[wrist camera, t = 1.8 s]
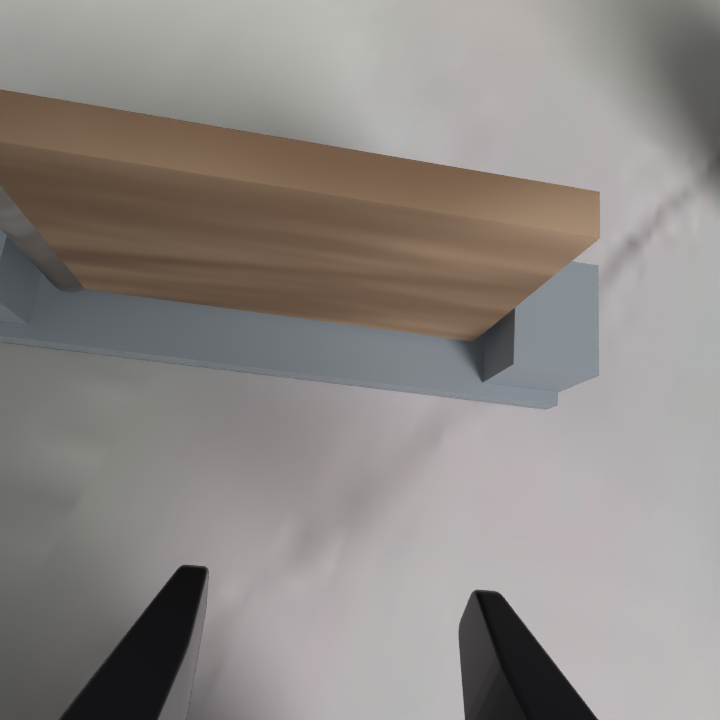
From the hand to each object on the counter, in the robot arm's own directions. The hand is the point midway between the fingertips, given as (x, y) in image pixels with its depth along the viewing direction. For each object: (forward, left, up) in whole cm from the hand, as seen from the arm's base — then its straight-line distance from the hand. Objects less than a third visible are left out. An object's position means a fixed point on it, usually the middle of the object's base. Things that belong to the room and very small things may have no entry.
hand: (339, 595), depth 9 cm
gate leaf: (+8, -5, -11) cm, 14 cm away
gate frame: (+8, -5, -13) cm, 15 cm away
